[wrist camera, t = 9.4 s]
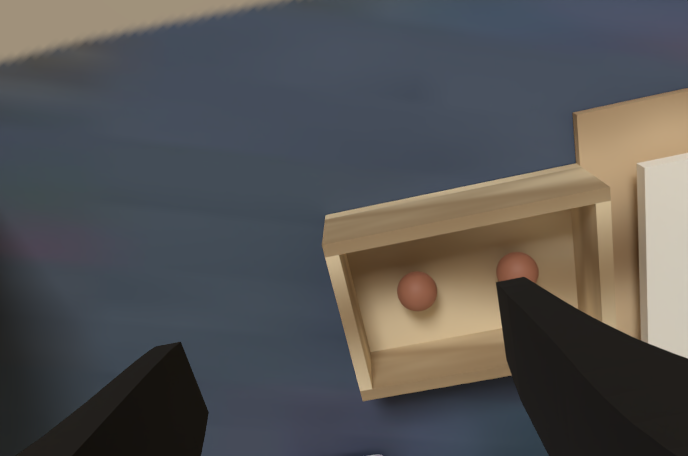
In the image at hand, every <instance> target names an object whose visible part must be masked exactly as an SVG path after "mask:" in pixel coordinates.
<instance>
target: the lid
mask: <svg viewBox="0 0 688 456" xmlns="http://www.w3.org/2000/svg"><path fill="white" fill-rule="evenodd" d="M637 202H638V241H639V280H640V319H641V341H643V342H646V343H648V344H651V345H654V346H656V347H659V348H661V349H664V350H666V351H669V352H671V353H674V354H677V355H679V356H682V357H685V358H688V153H684V154H679V155H674V156H669V157H665V158H660V159H655V160H650V161H645V162H640V163H637Z"/></svg>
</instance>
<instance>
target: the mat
mask: <svg viewBox="0 0 688 456" xmlns="http://www.w3.org/2000/svg"><path fill="white" fill-rule="evenodd" d="M573 125H574V139H575V154H576V164H578V165H579V166H581V167H582V168H584V169H585V170H586V171H588V172H589V173H591V174H592V175H594V176H595V177H597V178H598V179H599V180H601V181H602V182H604V183H605V184H607V185H608V186H609V187H610V194H611V217H612V239H613V261H614V283H615V306H616V328H617V330H619V331H621V332H623V333H625V334H627V335H630V336H632V337H634V338H636V339H639V340H641V319H640V280H639V241H638V202H637V163H640V162H645V161H650V160H655V159H660V158H665V157H669V156H674V155H679V154H684V153H688V88H685V89H680V90H676V91H671V92H667V93H662V94H657V95H653V96H648V97H643V98H639V99H634V100H629V101H625V102H620V103H616V104H611V105H606V106H602V107H597V108H592V109H588V110H583V111H578V112H574V113H573Z"/></svg>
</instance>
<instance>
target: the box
mask: <svg viewBox="0 0 688 456" xmlns="http://www.w3.org/2000/svg"><path fill="white" fill-rule="evenodd" d="M322 247H323V251H324V255H325V259H326V262H327V266H328V270H329V274H330V278H331V282H332V285H333V289H334V293H335V297H336V301H337V304H338V308H339V312H340V316H341V320H342V324H343V327H344V331H345V335H346V339H347V343H348V346H349V350H350V354H351V358H352V362H353V366H354V369H355V373H356V377H357V381H358V385H359V388H360V392H361V396H362V400H363V401H367V400H373V399H378V398H384V397H390V396H396V395H401V394H407V393H413V392H419V391H424V390H430V389H436V388H442V387H448V386H453V385H459V384H465V383H471V382H476V381H482V380H488V379H494V378H500V377H505V376H511V375H512V374H511V372H510V369H509V366H508V363H507V360H506V354H505V346H504V339H503V331H502V324H501V317H500V309H499V302H498V295H497V287H496V282H499V281H504V280H510V279H515V278H520V277H526V278H527V279H529V280H531V281H532V282H534V283H536V284H537V285H539V286H540V287H542V288H544V289H545V290H547V291H548V292H550V293H552V294H553V295H555V296H557V297H558V298H560V299H562V300H563V301H565V302H567V303H568V304H570V305H572V306H573V307H575V308H577V309H579V310H580V311H582V312H584V313H586V314H588V315H590V316H591V317H593V318H595V319H597V320H599V321H601V322H603V323H605V324H607V325H609V326H611V327H613V328H615V329H617V328H616V306H615V283H614V261H613V239H612V217H611V194H610V187H609V186H608V185H607V184H605V183H604V182H602V181H601V180H599V179H598V178H597V177H595V176H594V175H592V174H591V173H589V172H588V171H586V170H585V169H584V168H582V167H581V166H579V165H578V164H576V163H575V164H571V165H566V166H561V167H556V168H551V169H546V170H542V171H537V172H532V173H527V174H522V175H517V176H513V177H508V178H503V179H498V180H493V181H488V182H484V183H479V184H474V185H469V186H464V187H459V188H455V189H450V190H445V191H440V192H435V193H430V194H426V195H421V196H416V197H411V198H406V199H401V200H397V201H392V202H387V203H382V204H377V205H372V206H368V207H363V208H358V209H353V210H348V211H343V212H339V213H334V214H329V215H326V216H325V224H324V232H323V241H322Z"/></svg>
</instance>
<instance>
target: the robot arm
mask: <svg viewBox="0 0 688 456" xmlns="http://www.w3.org/2000/svg"><path fill="white" fill-rule="evenodd" d="M496 287H497V295H498V302H499V309H500V317H501V324H502V331H503V339H504V346H505V354H506V360H507V363H508V366H509V369H510V372H511V374H512V377H513V380H514V383H515V386H516V388H517V391H518V394H519V397H520V399H521V401H522V403H523V405H524V407H525V409H526V411H527V413H528V415H529V417H530V419H531V421H532V423H533V425H534V427H535V429H536V431H537V433H538V435H539V437H540V439H541V441H542V443H543V445H544V447H545V449H546V451H547V453H548V455H549V456H688V358H685V357H682V356H679V355H677V354H674V353H671V352H669V351H666V350H664V349H661V348H659V347H656V346H654V345H651V344H648V343H646V342H643V341H641V340H639V339H636V338H634V337H632V336H630V335H627V334H625V333H623V332H621V331H619V330H617V329H615V328H613V327H611V326H609V325H607V324H605V323H603V322H601V321H599V320H597V319H595V318H593V317H591V316H590V315H588V314H586V313H584V312H582V311H580V310H579V309H577V308H575V307H573V306H572V305H570V304H568V303H567V302H565V301H563V300H562V299H560V298H558V297H557V296H555V295H553V294H552V293H550V292H548V291H547V290H545V289H544V288H542V287H540V286H539V285H537V284H536V283H534V282H532V281H531V280H529V279H527V278H526V277H520V278H515V279H510V280H504V281H499V282H496ZM207 419H208V410H207V407H206V405H205V402H204V400H203V397H202V395H201V392H200V389H199V387H198V384H197V382H196V379H195V377H194V374H193V372H192V369H191V367H190V364H189V362H188V359H187V357H186V354H185V352H184V349H183V347H182V344H181V342H177V343H172V344H167V345H162V346H156V347H154V348H153V349H151V350H150V351H148V352H147V353H146V354H144V355H143V356H142V357H140V358H139V359H138V360H136V361H135V362H134V363H133V364H131V365H130V366H129V367H128V368H127V369H125V370H124V371H123V372H122V373H121V374H119V375H118V376H117V377H116V378H115V379H113V380H112V381H111V382H110V383H109V384H107V385H106V386H105V387H104V388H103V389H102V390H100V391H99V392H98V393H97V394H96V395H94V396H93V397H92V398H91V399H90V400H88V401H87V402H86V403H85V404H83V405H82V406H81V407H80V408H78V409H77V410H76V411H75V412H73V413H72V414H71V415H69V416H68V417H67V418H66V419H64V420H63V421H62V422H61V423H59V424H58V425H57V426H56V427H54V428H53V429H52V430H50V431H49V432H48V433H47V434H45V435H44V436H43V437H41V438H40V439H39V440H37V441H36V442H34V443H33V444H32V445H30V446H29V447H27V448H26V449H25V450H23V451H22V452H20V453H19V454H17V455H16V456H201V452H202V447H203V442H204V437H205V431H206V425H207ZM369 456H383V455H379V454H375V455H369Z"/></svg>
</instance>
